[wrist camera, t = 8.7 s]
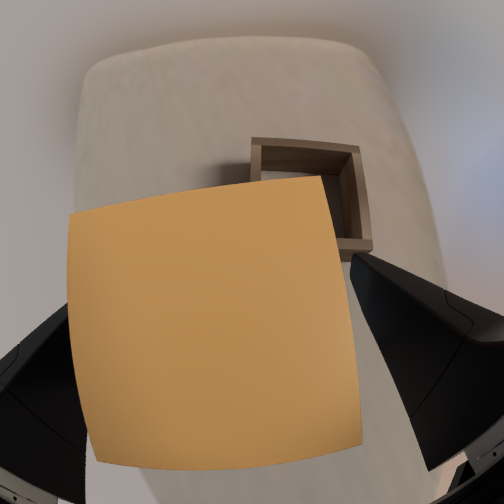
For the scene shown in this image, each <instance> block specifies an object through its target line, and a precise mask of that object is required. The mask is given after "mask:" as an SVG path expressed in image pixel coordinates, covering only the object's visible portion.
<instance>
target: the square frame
mask: <svg viewBox="0 0 504 504" xmlns="http://www.w3.org/2000/svg"><path fill="white" fill-rule="evenodd" d="M261 170H272V171H291V172H307V173H320V174H332V175H339V179H340V188H341V198H342V208H343V220H344V233H345V238H336V241H337V246H338V251H339V256H340V261H349V262H351V259H352V255H353V254H354V253H358V252H366V253H369V252H371V251H372V250H373V243H372V232H371V222H370V213H369V205H368V198H367V190H366V184H365V177H364V171H363V165H362V160H361V154H360V149H359V146H353V145H346V144H338V143H329V142H319V141H309V140H296V139H281V138H259V137H252V141H251V168H250V182H256V181H261Z"/></svg>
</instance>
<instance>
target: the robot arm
mask: <svg viewBox="0 0 504 504" xmlns="http://www.w3.org/2000/svg"><path fill="white" fill-rule="evenodd" d="M350 279H351V282H352V285H353V288H354V290H355V293H356V296H357V298H358V301H359V304H360V307H361V310H362V312H363V315H364V317H365V319H366V321H367V323H368V325H369V328H370V330H371V332H372V334H373V336H374V338H375V340H376V342H377V344H378V347H379V349H380V351H381V353H382V355H383V357H384V360H385V362H386V364H387V366H388V369H389V371H390V373H391V375H392V378H393V380H394V382H395V385H396V387H397V389H398V392H399V394H400V397H401V399H402V402H403V404H404V407H405V409H406V412H407V414H408V417H409V418H410V422H411V425H412V427H413V430H414V433H415V436H416V438H417V441H418V444H419V447H420V449H421V452H422V455H423V458H424V461H425V464H426V467H427V469H428V472H429V471H431V470H433V469H435V468H437V467H439V466H440V465H442V464H444V463H445V462H447V461H449V460H450V459H452V458H454V457H455V456H457V455H458V454H460V453H462V452H463V451H464V452H465V454H466V456H467V459H468V460H467V461H466V462H464V463H463V464H461V465H460V466H458V467H457V469H456V472H455V475H454V477H453V480H452V482H451V485H450V487H449V490H448V492H447V494H445V495H444V496H442V497H440V498H439V499H437V500H435V501H433V502H432V503H430V504H504V316H502V315H500V314H497V313H495V312H492V311H491V310H488V309H486V308H484V307H481V306H479V305H477V304H474V303H472V302H470V301H468V300H465V299H463V298H461V297H459V296H457V295H455V294H453V293H451V292H449V291H447V290H443V288H441V287H439V286H437V285H435V284H433V283H431V282H429V281H426V280H424V279H422V278H420V277H418V276H416V275H414V274H412V273H410V272H408V271H405V270H403V269H401V268H399V267H397V266H395V265H392V264H390V263H388V262H386V261H384V260H382V259H379V258H377V257H375V256H373V255H370V254H368V253H366V252H358V253H354V254H353V255H352V259H351V268H350ZM86 443H87V426H86V423H85V419H84V415H83V411H82V406H81V402H80V397H79V392H78V387H77V382H76V376H75V370H74V364H73V357H72V349H71V340H70V330H69V318H68V302H67V303H66V304H65V305H64V306H63V307H61V308H60V309H59V310H58V311H57V312H55V313H54V314H53V315H51V316H50V317H49V318H48V319H47V320H46V321H44V322H43V323H42V324H41V325H40V326H38V327H37V328H36V329H35V330H34V331H33V332H31V333H30V334H29V335H28V336H27V337H26V338H24V339H23V340H22V341H21V342H20V344H18V345H17V346H16V347H14V348H13V349H12V350H11V351H10V352H9V353H8V354H6V355H5V356H4V357H3V358H2V359H1V360H0V504H57V503H58V498H59V499H62V500H65V501H68V502H71V503H74V504H86V503H85V502H86V500H85V466H86V464H85V463H86Z"/></svg>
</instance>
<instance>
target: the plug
mask: <svg viewBox="0 0 504 504" xmlns="http://www.w3.org/2000/svg"><path fill="white" fill-rule="evenodd" d="M67 300H68V318H69V330H70V340H71V349H72V357H73V364H74V370H75V376H76V382H77V387H78V392H79V397H80V402H81V406H82V411H83V415H84V419H85V423H86V426H87V430H88V433H89V437H90V441H91V444H92V447H93V450H94V453H95V456H96V459H97V461H99V462H104V463H110V464H116V465H124V466H132V467H140V468H150V469H164V470H225V469H239V468H250V467H259V466H267V465H274V464H281V463H287V462H292V461H298V460H303V459H308V458H312V457H317V456H321V455H325V454H329V453H333V452H337V451H340V450H344V449H348V448H351V447H354V446H357V445H361V444H362V422H361V406H360V393H359V382H358V372H357V363H356V354H355V346H354V338H353V331H352V324H351V317H350V311H349V305H348V299H347V293H346V287H345V282H344V276H343V271H342V266H341V261H340V256H339V251H338V246H337V241H336V237H335V232H334V228H333V223H332V219H331V215H330V211H329V207H328V203H327V199H326V195H325V191H324V187H323V183H322V179H321V176H308V177H296V178H285V179H275V180H265V181H256V182H248V183H239V184H232V185H224V186H217V187H210V188H203V189H196V190H190V191H183V192H177V193H171V194H166V195H160V196H154V197H149V198H144V199H138V200H133V201H128V202H123V203H119V204H114V205H109V206H105V207H100V208H96V209H91V210H87V211H83V212H79V213H75V214H70V219H69V232H68V251H67Z"/></svg>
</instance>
